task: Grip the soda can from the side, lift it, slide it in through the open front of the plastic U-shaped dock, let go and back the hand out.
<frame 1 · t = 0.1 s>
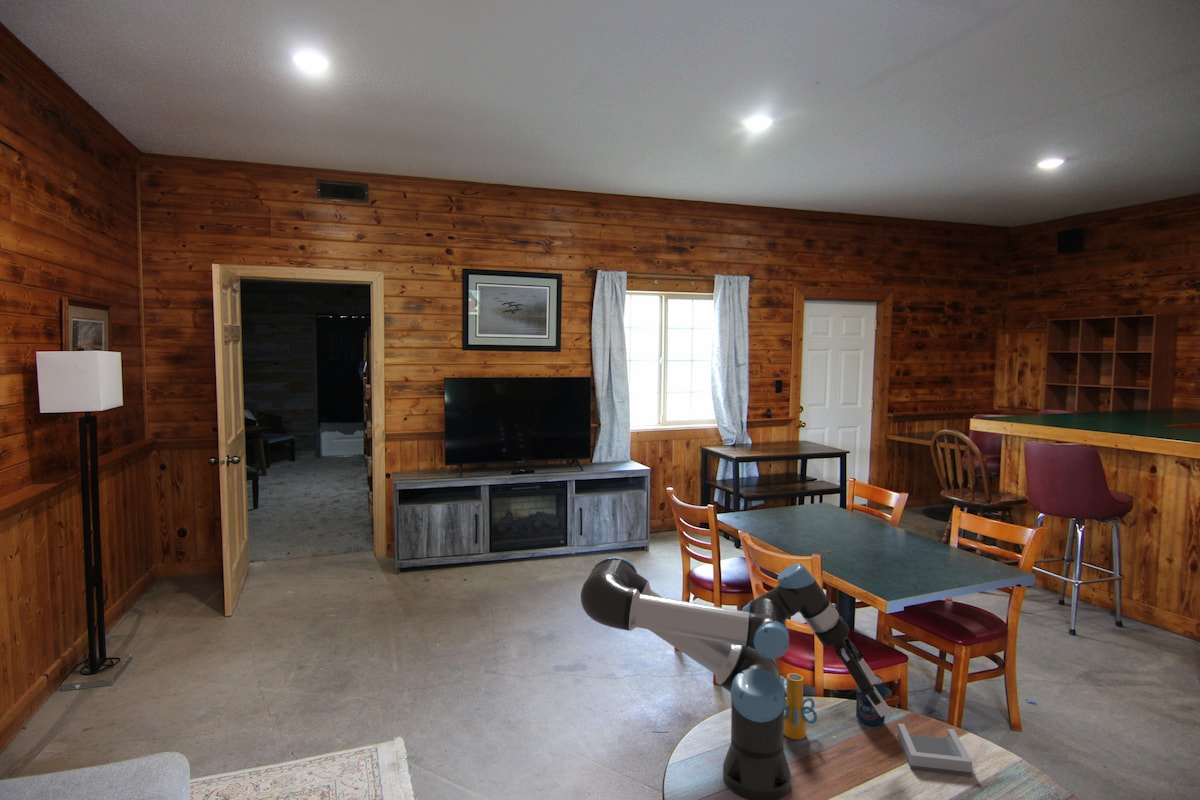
hand: (879, 697, 156), 15 cm above the table, tool tilted 35°, fingers open, 13 cm apart
dock: (932, 755, 158), on the table
yellow hollow tube: (794, 733, 168), on the table
soda can: (870, 722, 172), on the table
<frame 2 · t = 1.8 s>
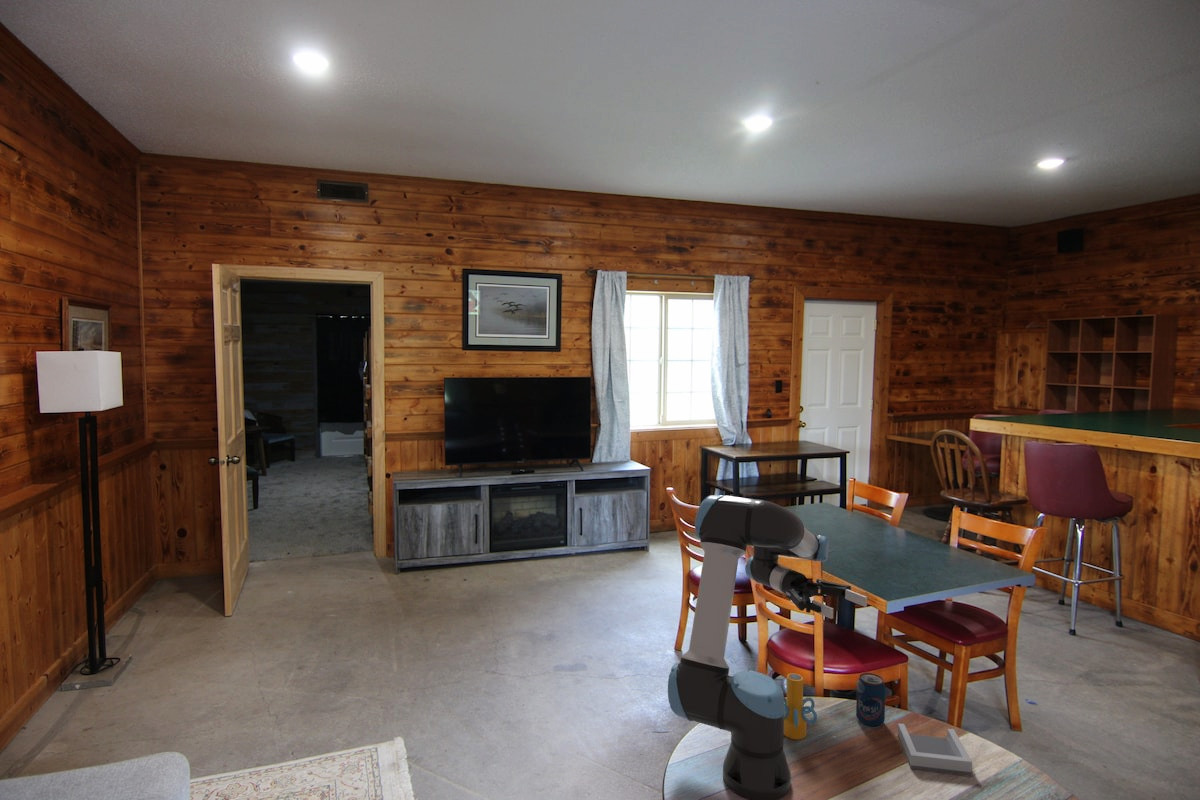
hand: (849, 607, 175), 29 cm above the table, tool horizontal, fingers open, 13 cm apart
nothing on the table moved.
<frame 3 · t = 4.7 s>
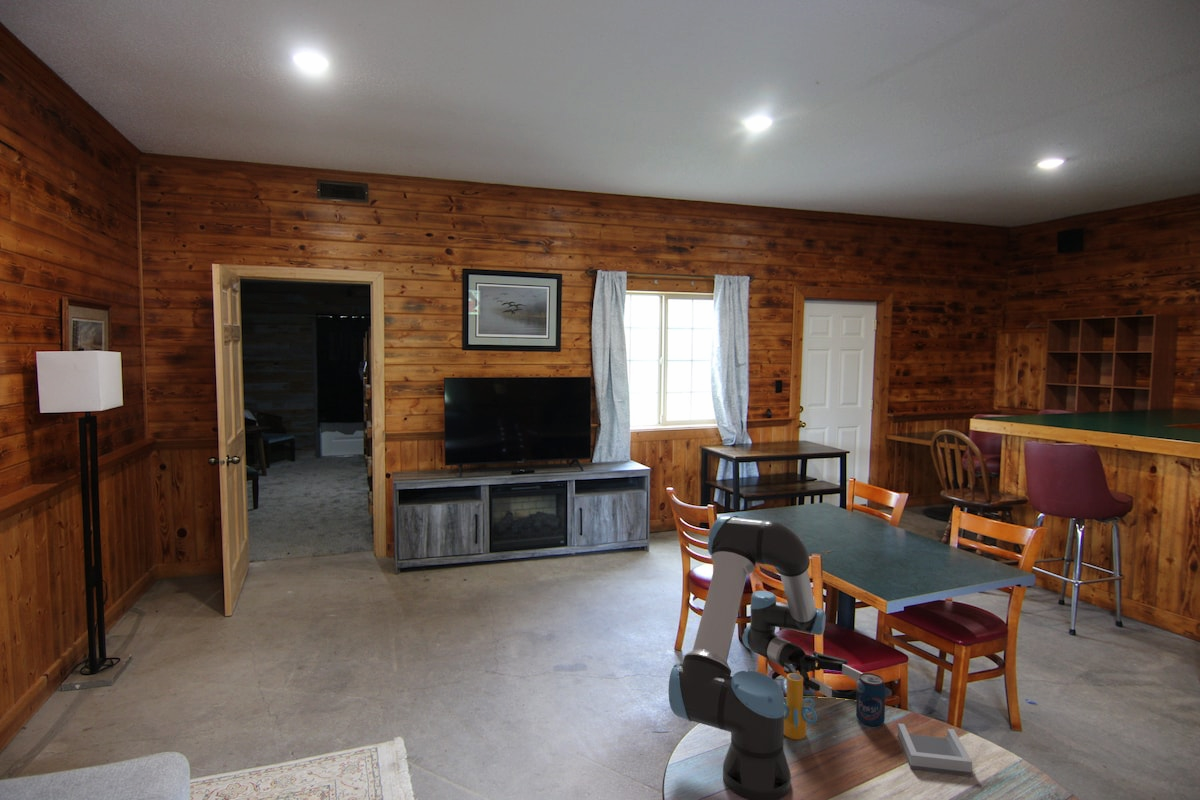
hand: (847, 685, 178), 6 cm above the table, tool horizontal, fingers open, 13 cm apart
nothing on the table moved.
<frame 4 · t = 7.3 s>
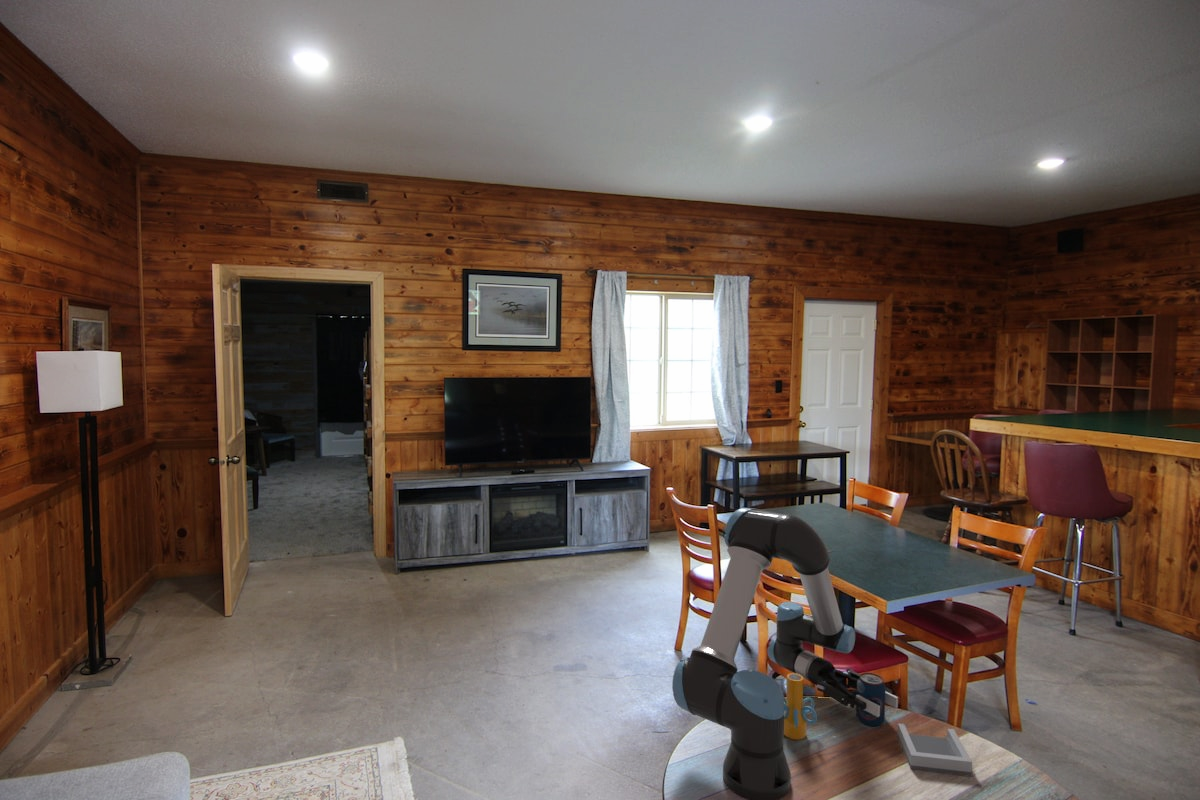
hand: (887, 707, 168), 7 cm above the table, tool horizontal, fingers closed on soda can, 7 cm apart
soda can: (870, 722, 172), on the table, touching gripper
everything else where it was.
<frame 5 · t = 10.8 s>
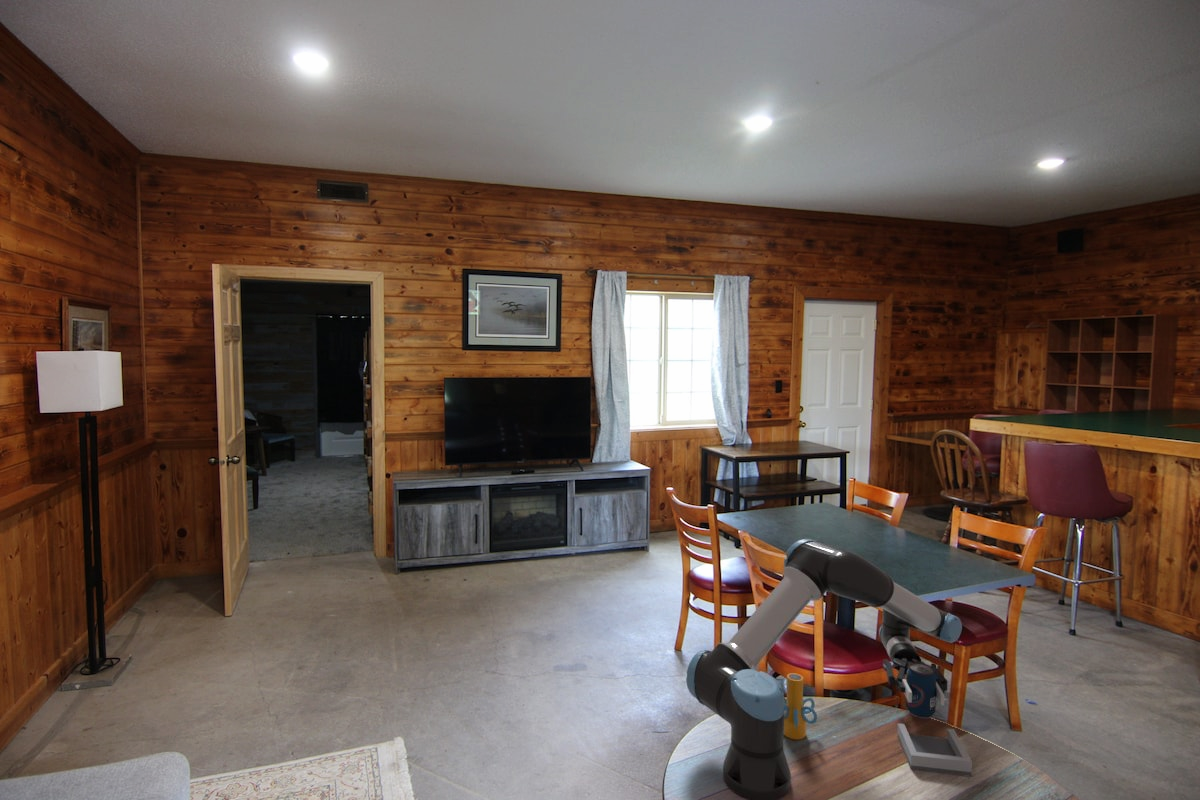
hand: (926, 698, 164), 10 cm above the table, tool horizontal, fingers closed on soda can, 7 cm apart
soda can: (920, 712, 170), point 4 cm above the table, touching gripper
everything else where it was.
when the fingers open (9 cm above the table, at t = 14.2 s): soda can drops 2 cm, resting on dock.
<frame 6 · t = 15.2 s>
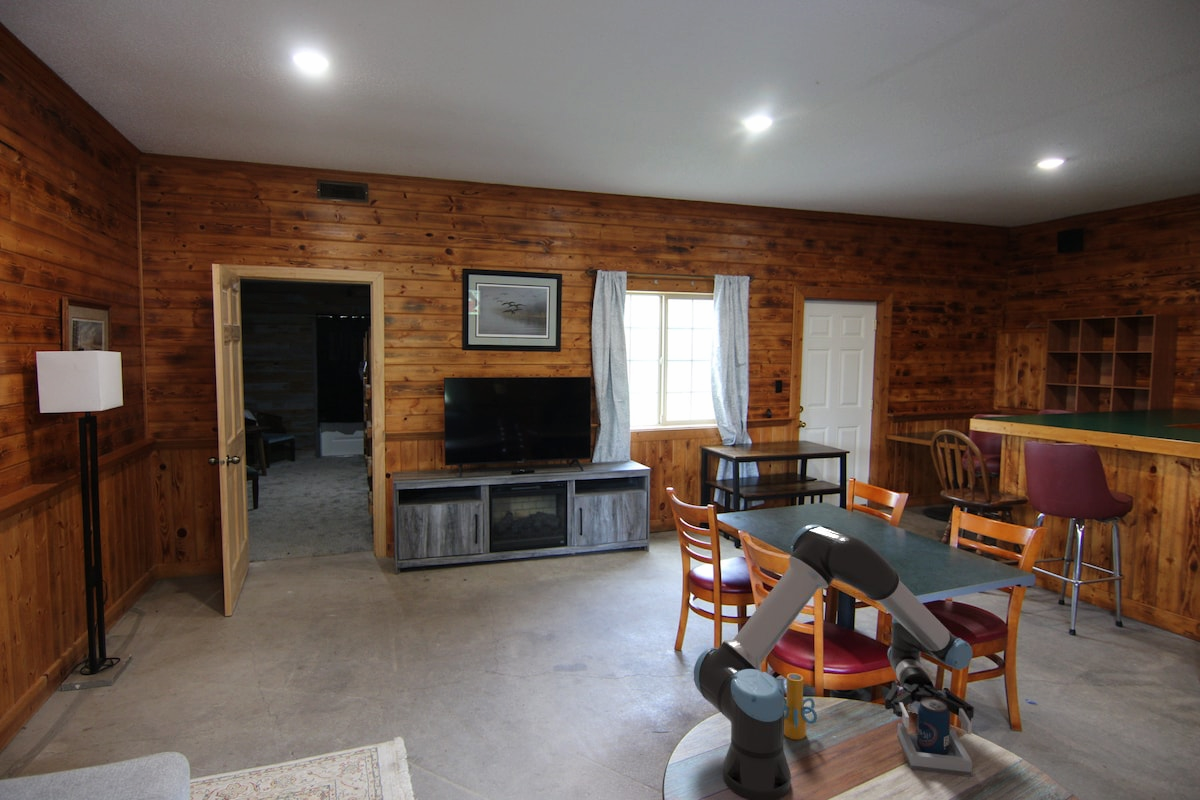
hand: (938, 725, 154), 10 cm above the table, tool horizontal, fingers open, 13 cm apart
soda can: (933, 751, 158), point 1 cm above the table, touching dock
everything else where it was.
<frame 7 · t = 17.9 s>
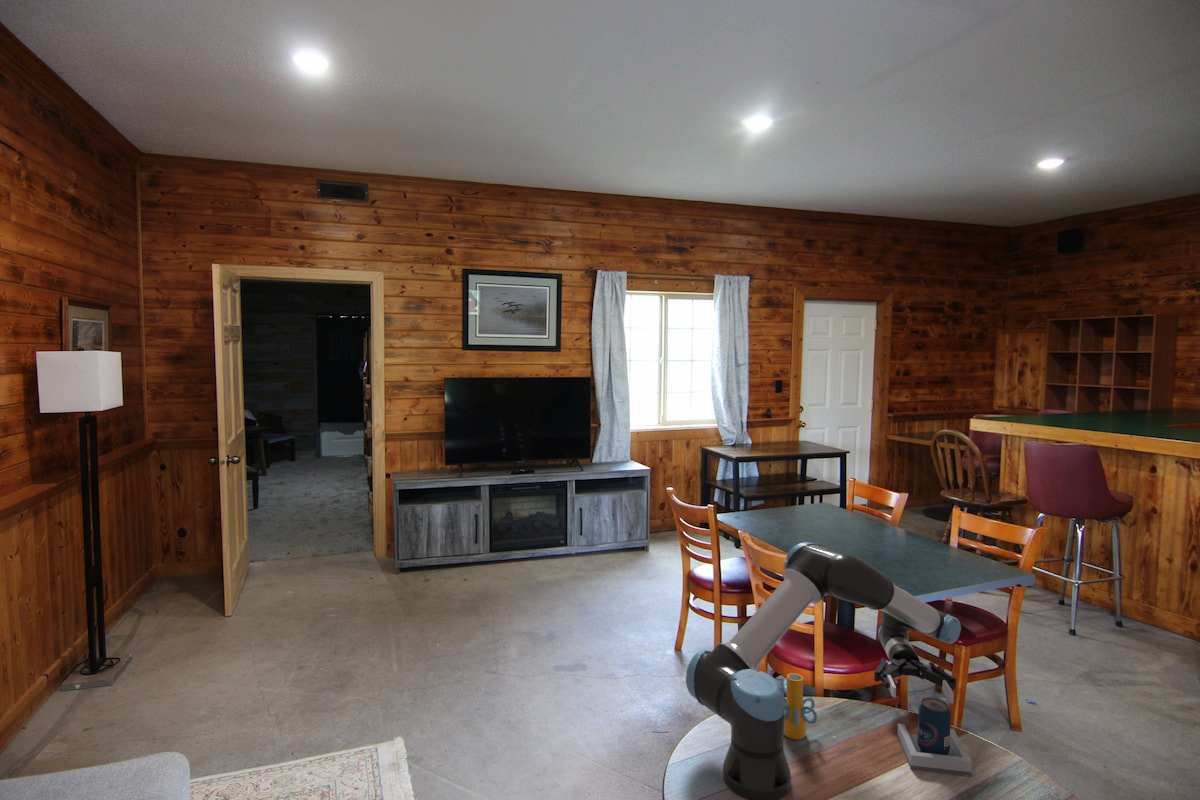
hand: (922, 695, 167), 10 cm above the table, tool horizontal, fingers open, 13 cm apart
nothing on the table moved.
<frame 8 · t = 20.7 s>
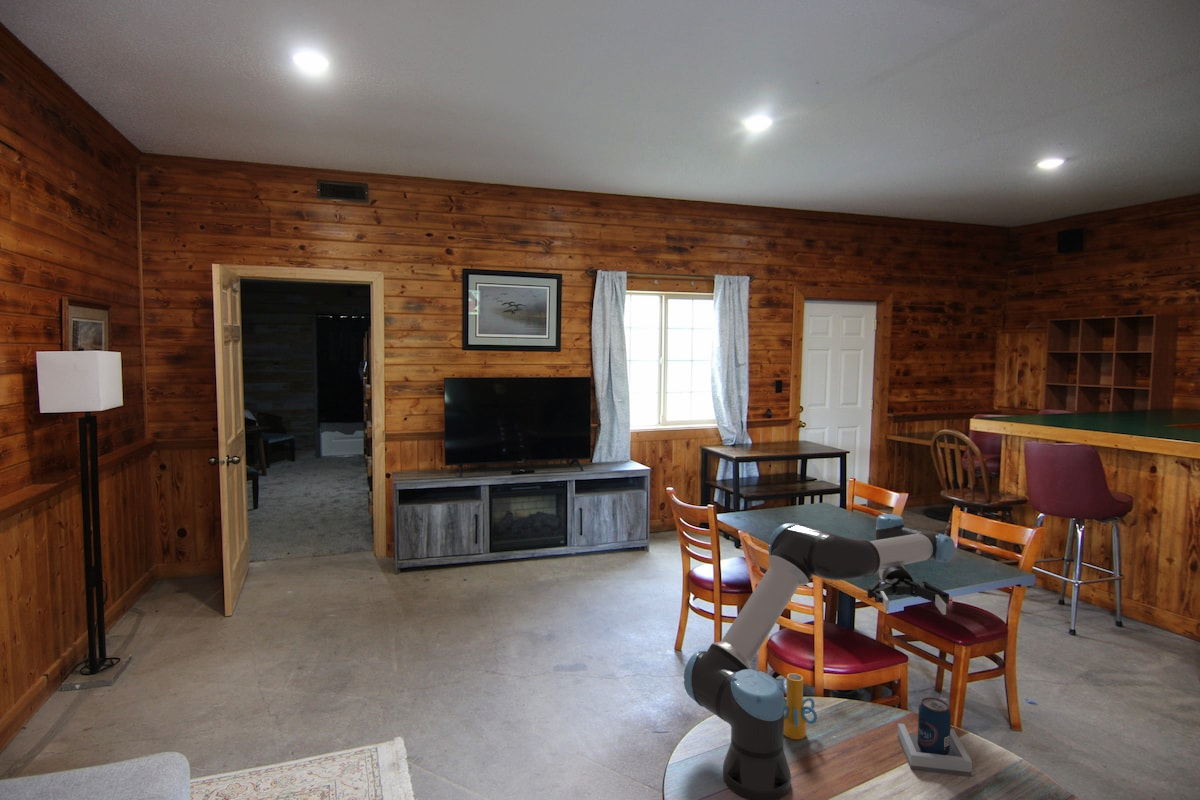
hand: (915, 607, 167), 32 cm above the table, tool horizontal, fingers open, 13 cm apart
nothing on the table moved.
at the end: soda can 0.1 cm off-centre on the dock, point 0.8 cm above the dock's base; soda can tilted 0°; the gripper is holding nothing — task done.
